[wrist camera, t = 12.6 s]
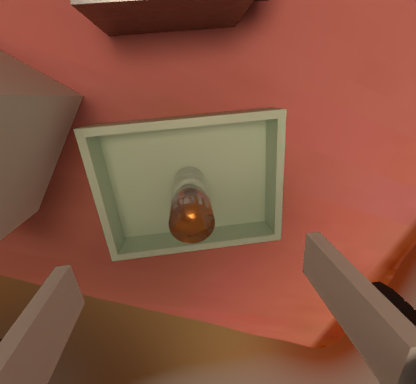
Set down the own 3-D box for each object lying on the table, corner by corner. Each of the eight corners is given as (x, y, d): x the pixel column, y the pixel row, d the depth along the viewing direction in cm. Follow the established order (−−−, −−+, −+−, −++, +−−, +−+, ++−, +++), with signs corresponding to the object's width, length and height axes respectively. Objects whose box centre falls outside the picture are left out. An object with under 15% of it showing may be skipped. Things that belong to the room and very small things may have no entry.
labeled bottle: (176, 197, 28) (172, 246, 19) (172, 168, 27) (165, 205, 17) (206, 193, 28) (216, 240, 19) (203, 164, 27) (213, 200, 18)
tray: (120, 241, 30) (112, 261, 26) (89, 124, 25) (73, 129, 21) (269, 222, 31) (281, 239, 28) (271, 107, 26) (286, 108, 22)
